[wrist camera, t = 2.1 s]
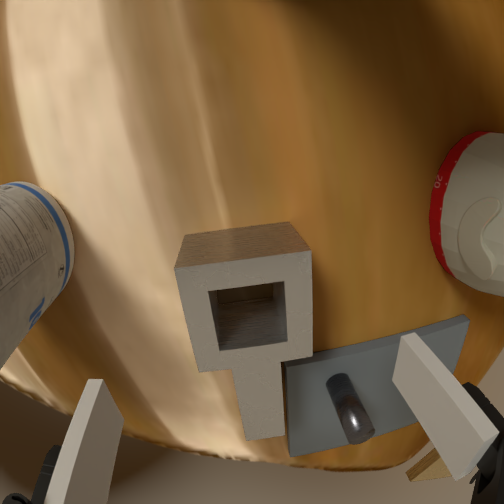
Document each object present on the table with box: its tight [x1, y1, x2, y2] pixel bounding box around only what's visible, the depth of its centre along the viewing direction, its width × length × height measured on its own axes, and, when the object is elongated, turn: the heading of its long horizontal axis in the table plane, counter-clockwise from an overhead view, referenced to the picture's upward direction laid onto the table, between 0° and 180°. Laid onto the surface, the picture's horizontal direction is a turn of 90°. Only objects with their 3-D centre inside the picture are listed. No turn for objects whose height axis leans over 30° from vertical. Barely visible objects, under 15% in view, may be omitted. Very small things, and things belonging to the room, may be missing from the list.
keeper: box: [406, 448, 452, 482], centre depth 24 cm, size 5×9×9 cm, turn 61°
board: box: [284, 314, 470, 457], centre depth 28 cm, size 14×19×1 cm
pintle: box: [326, 373, 375, 444], centre depth 23 cm, size 2×2×6 cm
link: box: [174, 222, 313, 441], centre depth 21 cm, size 15×7×6 cm, turn 6°
